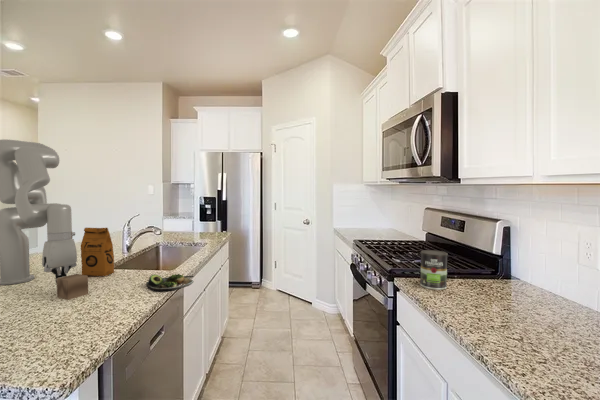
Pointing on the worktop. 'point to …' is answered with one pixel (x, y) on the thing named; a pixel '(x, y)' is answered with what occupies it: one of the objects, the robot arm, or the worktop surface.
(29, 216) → the robot arm
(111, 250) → the coffee package
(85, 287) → the letter block
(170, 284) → the salad plate
